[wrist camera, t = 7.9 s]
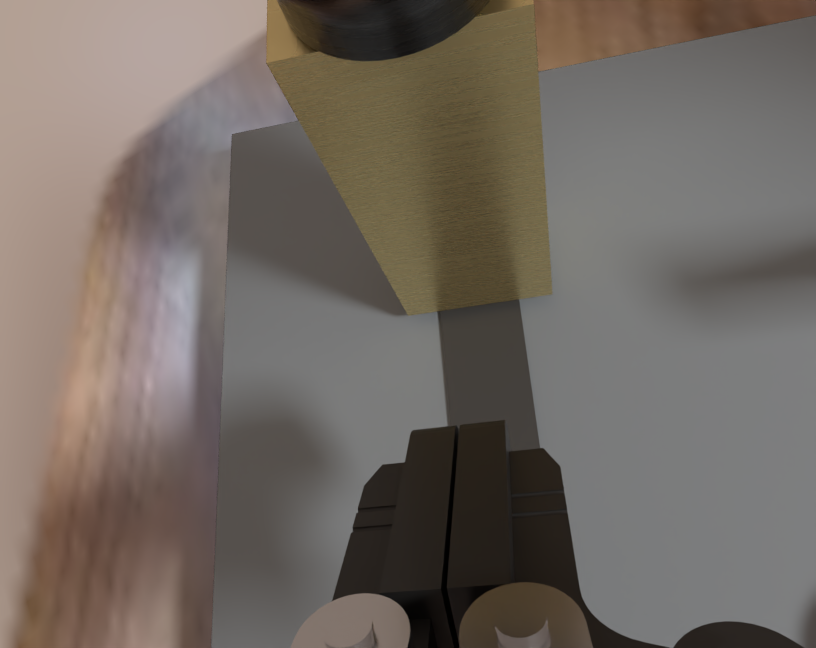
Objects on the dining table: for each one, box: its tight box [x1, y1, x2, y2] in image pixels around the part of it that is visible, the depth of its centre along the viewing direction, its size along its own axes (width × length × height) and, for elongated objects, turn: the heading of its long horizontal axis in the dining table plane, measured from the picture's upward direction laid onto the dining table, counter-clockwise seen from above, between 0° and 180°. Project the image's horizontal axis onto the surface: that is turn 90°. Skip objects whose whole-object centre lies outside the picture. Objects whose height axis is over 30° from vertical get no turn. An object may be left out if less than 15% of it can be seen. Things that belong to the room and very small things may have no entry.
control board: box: [211, 15, 816, 648], centre depth 16 cm, size 24×20×3 cm
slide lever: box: [266, 0, 552, 316], centre depth 13 cm, size 4×3×11 cm
